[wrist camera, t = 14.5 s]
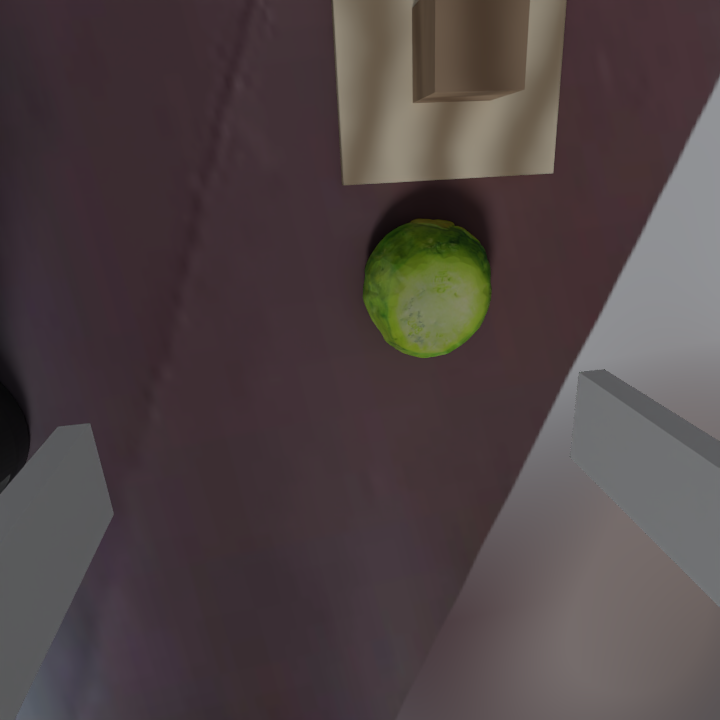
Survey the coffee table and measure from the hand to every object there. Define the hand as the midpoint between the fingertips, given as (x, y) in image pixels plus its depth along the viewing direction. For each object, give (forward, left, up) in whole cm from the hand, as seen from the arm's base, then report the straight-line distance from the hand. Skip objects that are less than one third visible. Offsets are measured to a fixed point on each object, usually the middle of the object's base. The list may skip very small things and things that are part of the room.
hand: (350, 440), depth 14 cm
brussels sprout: (+10, -3, -31) cm, 33 cm away
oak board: (+12, +14, -31) cm, 36 cm away
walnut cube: (+12, +14, -29) cm, 35 cm away
